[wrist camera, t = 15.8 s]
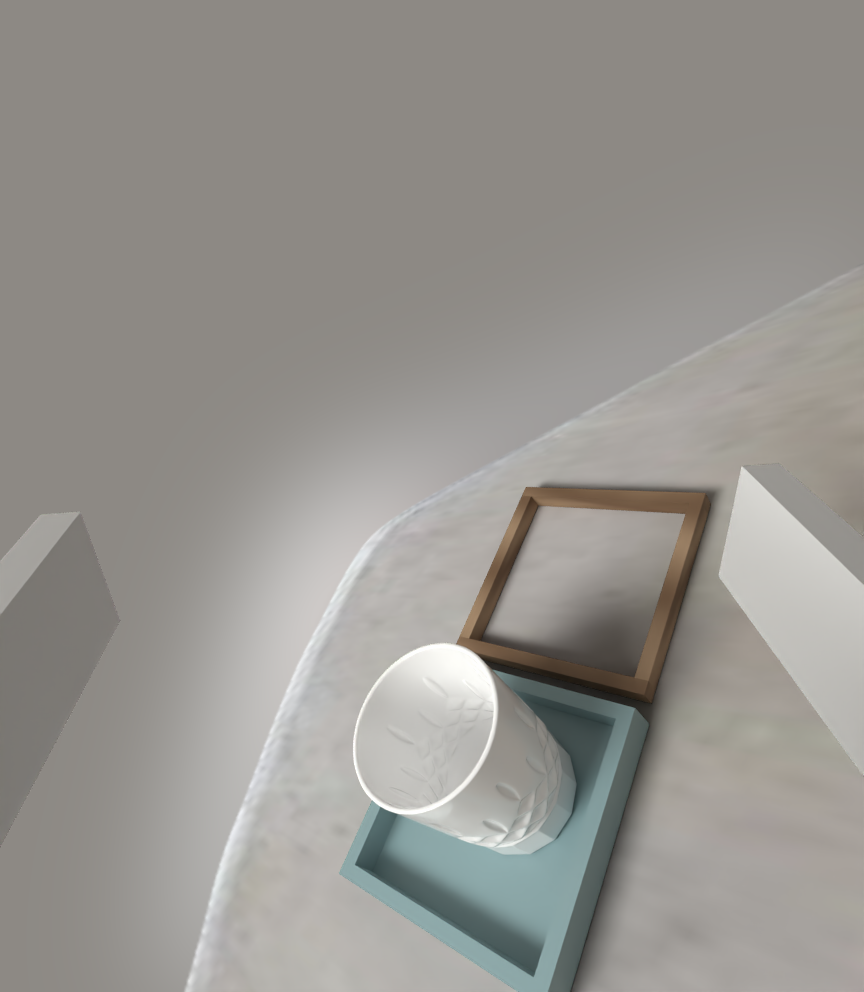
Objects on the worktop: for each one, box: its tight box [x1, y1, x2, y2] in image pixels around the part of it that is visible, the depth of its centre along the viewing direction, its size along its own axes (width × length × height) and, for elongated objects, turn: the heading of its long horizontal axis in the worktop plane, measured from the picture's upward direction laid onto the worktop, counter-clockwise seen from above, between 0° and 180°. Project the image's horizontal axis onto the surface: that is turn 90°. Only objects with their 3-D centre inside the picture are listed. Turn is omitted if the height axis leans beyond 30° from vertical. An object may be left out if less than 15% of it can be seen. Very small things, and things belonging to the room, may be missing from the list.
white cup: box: [353, 643, 577, 855], centre depth 33 cm, size 8×8×10 cm
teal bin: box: [339, 670, 649, 992], centre depth 36 cm, size 14×14×2 cm
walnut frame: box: [456, 487, 711, 704], centre depth 43 cm, size 13×13×1 cm
